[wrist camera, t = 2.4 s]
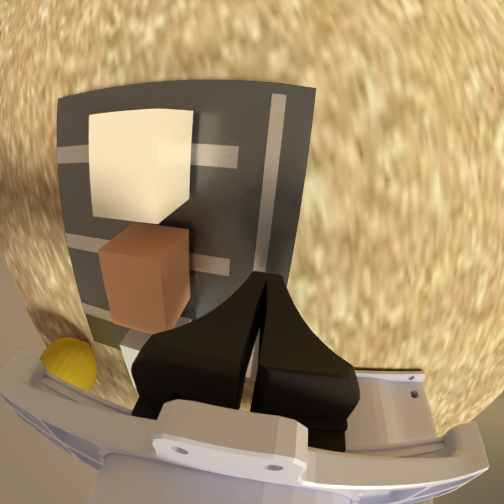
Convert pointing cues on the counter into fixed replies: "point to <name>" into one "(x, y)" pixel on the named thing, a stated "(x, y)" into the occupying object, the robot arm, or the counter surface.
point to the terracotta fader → (147, 276)
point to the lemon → (71, 362)
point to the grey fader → (139, 344)
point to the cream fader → (139, 163)
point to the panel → (198, 187)
